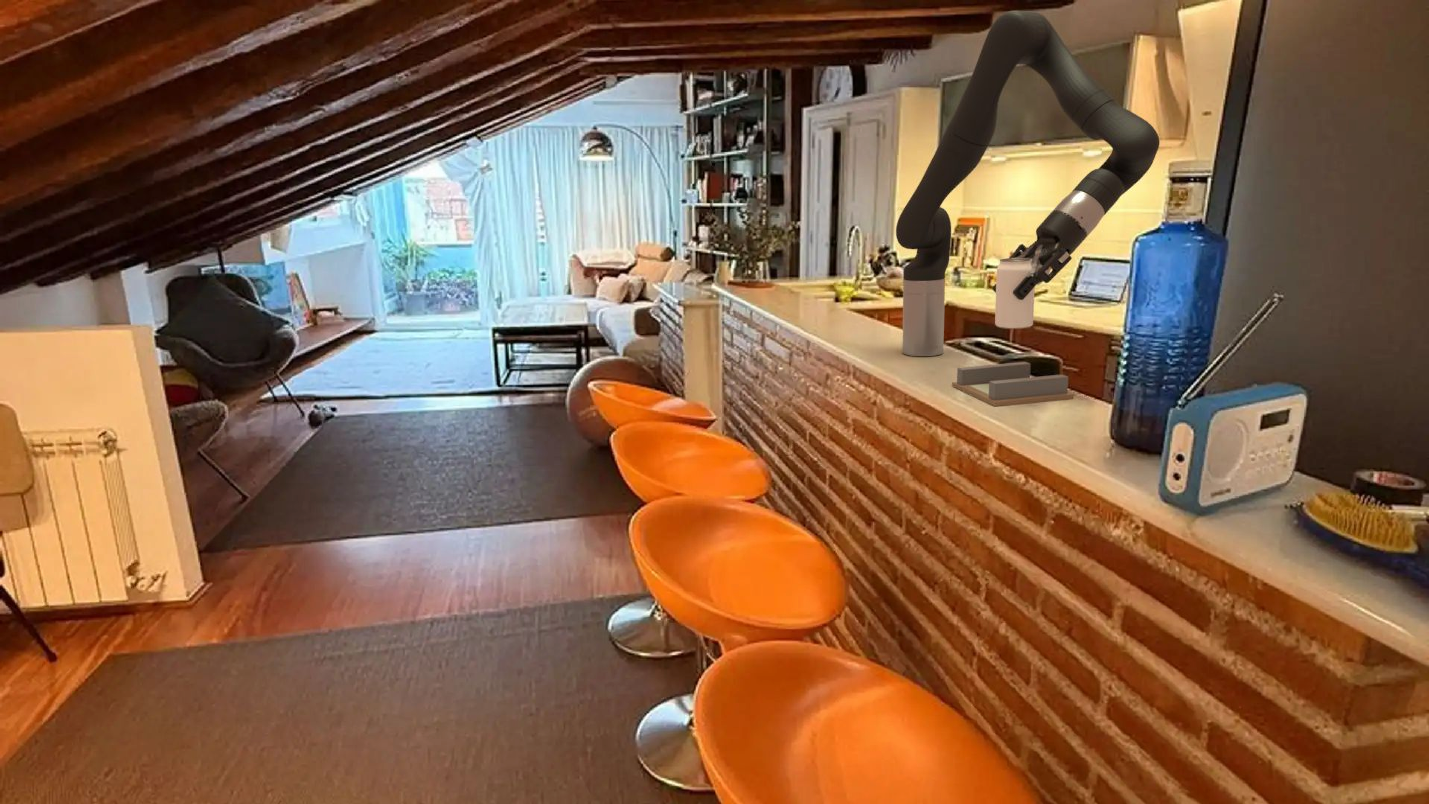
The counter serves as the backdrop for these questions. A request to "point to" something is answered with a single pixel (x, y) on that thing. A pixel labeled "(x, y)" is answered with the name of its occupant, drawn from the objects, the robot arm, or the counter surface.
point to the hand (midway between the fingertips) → (1006, 294)
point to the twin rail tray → (1010, 384)
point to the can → (1007, 305)
